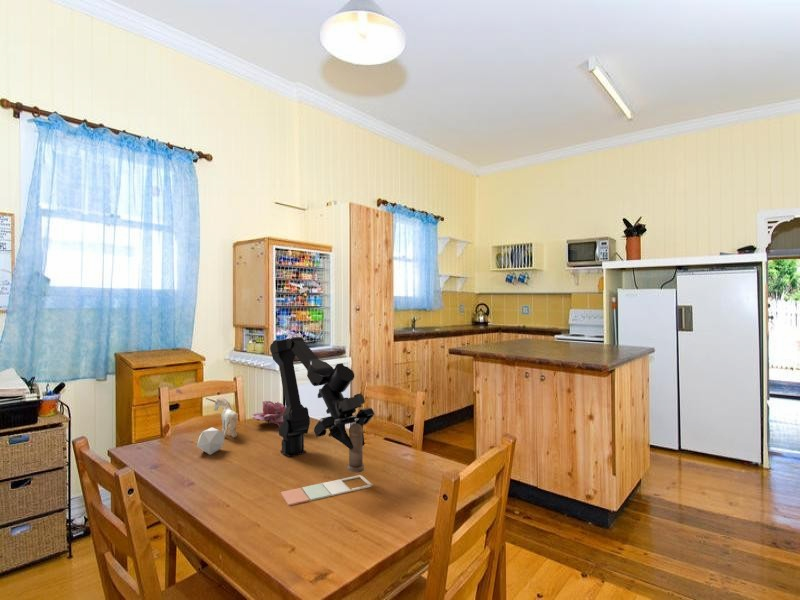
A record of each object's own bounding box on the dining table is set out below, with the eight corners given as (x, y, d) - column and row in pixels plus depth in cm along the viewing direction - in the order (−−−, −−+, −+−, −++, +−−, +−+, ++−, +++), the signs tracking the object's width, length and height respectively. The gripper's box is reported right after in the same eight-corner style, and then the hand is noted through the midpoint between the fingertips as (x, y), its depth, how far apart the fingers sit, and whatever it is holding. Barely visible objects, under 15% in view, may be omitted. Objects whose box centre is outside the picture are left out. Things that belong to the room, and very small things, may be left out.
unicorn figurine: (222, 427, 176) (222, 394, 176) (249, 437, 164) (249, 402, 164) (204, 431, 171) (204, 397, 171) (231, 442, 159) (231, 405, 158)
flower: (252, 425, 170) (259, 399, 172) (249, 420, 183) (256, 397, 186) (289, 431, 175) (295, 407, 177) (283, 426, 188) (289, 404, 191)
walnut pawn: (356, 464, 127) (357, 420, 127) (367, 469, 124) (367, 423, 124) (343, 469, 124) (344, 423, 124) (354, 474, 120) (354, 427, 120)
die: (228, 454, 148) (230, 426, 154) (211, 448, 142) (213, 420, 147) (209, 460, 150) (211, 433, 156) (190, 455, 143) (193, 427, 149)
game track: (360, 476, 129) (360, 474, 129) (372, 486, 122) (372, 485, 122) (280, 493, 117) (280, 491, 117) (288, 505, 110) (288, 504, 110)
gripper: (319, 390, 120) (343, 439, 113) (371, 381, 133) (395, 424, 126) (304, 412, 126) (326, 461, 118) (354, 402, 139) (377, 445, 131)
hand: (357, 447), depth 123 cm, fingers closed on walnut pawn, 4 cm apart
